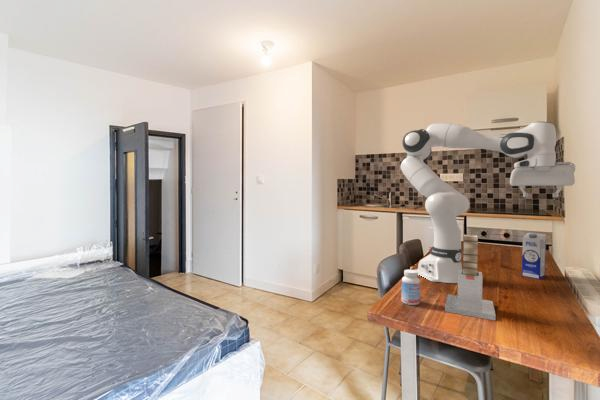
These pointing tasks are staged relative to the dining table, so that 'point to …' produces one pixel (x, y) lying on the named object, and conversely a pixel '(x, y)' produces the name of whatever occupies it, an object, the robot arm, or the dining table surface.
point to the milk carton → (534, 255)
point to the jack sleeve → (470, 298)
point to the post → (470, 255)
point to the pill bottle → (410, 288)
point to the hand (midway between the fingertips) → (540, 197)
